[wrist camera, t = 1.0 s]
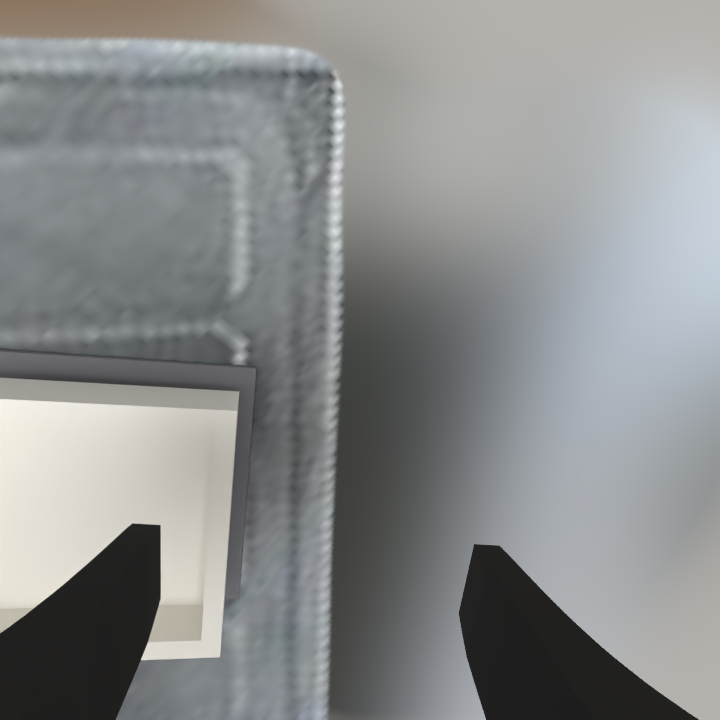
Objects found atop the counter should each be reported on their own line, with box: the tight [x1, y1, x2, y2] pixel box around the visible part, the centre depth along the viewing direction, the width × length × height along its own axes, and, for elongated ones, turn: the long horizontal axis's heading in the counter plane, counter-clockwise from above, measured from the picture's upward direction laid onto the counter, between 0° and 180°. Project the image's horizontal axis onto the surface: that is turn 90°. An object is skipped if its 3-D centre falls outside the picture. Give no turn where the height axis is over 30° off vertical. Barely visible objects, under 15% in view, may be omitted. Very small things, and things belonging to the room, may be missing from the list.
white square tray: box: [0, 378, 239, 660], centre depth 23 cm, size 11×11×5 cm
